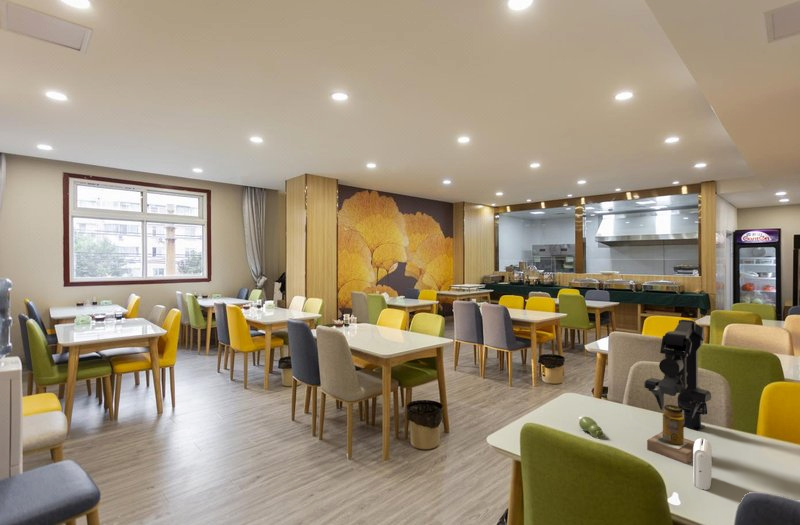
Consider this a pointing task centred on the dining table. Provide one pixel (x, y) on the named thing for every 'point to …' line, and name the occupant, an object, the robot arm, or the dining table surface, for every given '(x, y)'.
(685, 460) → the brown flat box
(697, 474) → the photo printer
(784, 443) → the dining table surface
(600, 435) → the pear
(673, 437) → the condiment
